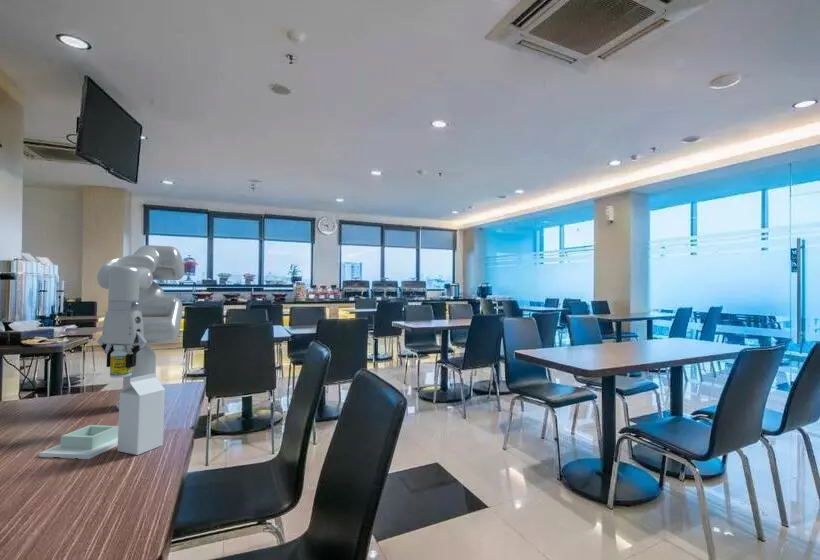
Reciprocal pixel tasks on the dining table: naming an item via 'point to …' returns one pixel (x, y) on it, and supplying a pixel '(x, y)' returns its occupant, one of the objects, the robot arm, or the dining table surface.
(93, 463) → the dining table surface
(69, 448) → the cup holder
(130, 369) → the supplement bottle
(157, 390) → the milk carton
